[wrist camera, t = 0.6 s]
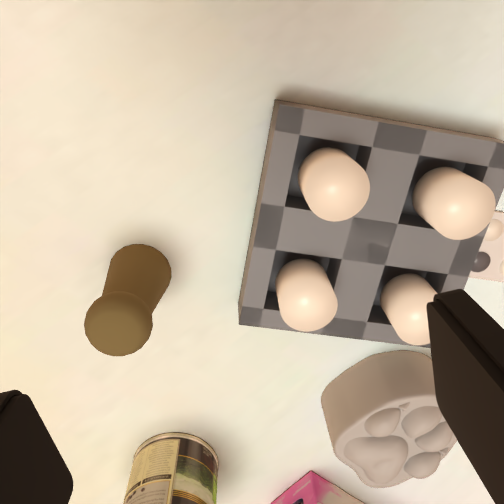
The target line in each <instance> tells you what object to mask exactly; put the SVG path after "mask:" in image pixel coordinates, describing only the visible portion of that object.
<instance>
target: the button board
mask: <svg viewBox="0 0 504 504" xmlns="http://www.w3.org/2000/svg"><path fill="white" fill-rule="evenodd" d="M325 147H333V148H337V149H340V150H342V151H343V152H345V153H346V154H347V155H348V156H350V157H351V158H352V159H353V160H354V161H355V162H356V163H358V164H359V165H360V166H361V167H362V168H363V169H364V171H365V172H366V174H367V176H368V178H369V182H370V193H369V197H368V200H367V202H366V204H365V205H364V207H363V208H362V209H361V210H360V211H359V212H358V213H357V214H356V215H354V216H353V217H351V218H349V219H347V220H343V221H336V222H333V221H327V220H324V219H322V218H320V217H318V216H317V215H315V214H314V213H313V212H312V210H311V209H310V207H309V206H308V204H307V202H306V200H305V198H304V196H303V194H302V192H301V190H300V187H299V184H298V171H299V168H300V165H301V164H302V162H303V160H304V159H305V158H306V157H307V156H308V155H309V154H310V153H312V152H313V151H315V150H317V149H320V148H325ZM438 167H452V168H455V169H457V170H459V171H461V172H463V173H465V174H467V175H469V176H471V177H472V178H474V179H476V180H478V181H480V182H482V183H484V184H486V185H487V186H488V187H489V188H490V189H491V190H492V192H493V194H494V197H495V203H496V205H495V209H496V206H497V204H498V201H499V199H500V196H501V193H502V191H503V188H504V141H502V140H499V139H496V138H491V137H486V136H480V135H474V134H469V133H463V132H457V131H451V130H446V129H440V128H434V127H429V126H423V125H417V124H412V123H406V122H400V121H395V120H389V119H383V118H377V117H372V116H366V115H360V114H355V113H349V112H343V111H338V110H332V109H326V108H320V107H315V106H309V105H303V104H298V103H292V102H286V101H281V100H275V102H274V108H273V113H272V119H271V124H270V130H269V135H268V141H267V146H266V152H265V157H264V163H263V169H262V174H261V180H260V185H259V191H258V196H257V202H256V207H255V213H254V218H253V224H252V230H251V235H250V241H249V246H248V252H247V257H246V263H245V268H244V274H243V279H242V285H241V291H240V296H239V302H238V313H239V325H247V326H255V327H263V328H271V329H280V330H288V331H296V332H304V331H298V330H295V329H293V328H291V327H290V326H288V325H287V324H286V323H285V322H284V320H283V319H282V317H281V314H280V309H279V303H278V298H277V293H276V287H275V280H276V276H277V274H278V272H279V270H280V269H281V268H282V267H283V266H284V265H285V264H287V263H288V262H290V261H293V260H296V259H310V260H313V261H315V262H317V263H319V264H320V265H321V266H322V267H323V268H324V270H325V272H326V274H327V277H328V279H329V281H330V284H331V286H332V288H333V291H334V293H335V295H336V298H337V302H338V307H337V312H336V314H335V316H334V318H333V319H332V320H331V321H330V323H328V324H327V325H326V326H324V327H323V328H321V329H318V330H315V331H309V332H304V333H312V334H321V335H329V336H337V337H345V338H353V339H361V340H370V341H378V342H386V343H394V344H402V345H410V346H419V347H427V348H431V347H430V343H429V344H426V345H411V344H408V343H406V342H404V341H403V340H402V339H400V337H399V336H398V334H397V333H396V331H395V329H394V328H393V326H392V324H391V323H390V321H389V319H388V318H387V316H386V314H385V312H384V311H383V309H382V307H381V305H380V294H381V291H382V289H383V287H384V286H385V285H386V284H387V282H389V281H390V280H391V279H392V278H394V277H396V276H398V275H402V274H408V273H411V274H417V275H419V276H421V277H423V278H424V279H425V280H426V281H427V282H428V283H429V284H430V285H431V287H432V288H433V289H434V290H435V291H436V292H437V294H438V293H443V292H447V291H451V290H456V289H464V287H465V284H466V282H467V279H468V277H469V274H470V272H471V269H472V267H473V264H474V262H475V259H476V257H477V254H478V252H479V249H480V247H481V244H482V241H483V239H484V236H485V234H486V231H487V229H488V226H489V224H490V223H489V224H488V225H487V226H486V227H485V228H484V229H483V230H482V231H481V232H480V233H478V234H477V235H475V236H473V237H471V238H468V239H463V240H453V239H449V238H446V237H444V236H443V235H442V234H440V233H439V232H438V231H437V230H436V229H434V228H433V227H432V226H431V225H430V224H429V223H428V222H426V221H425V220H424V219H423V218H422V217H421V216H419V215H418V214H417V212H416V211H415V209H414V207H413V203H412V194H413V190H414V187H415V185H416V183H417V182H418V180H419V179H420V178H421V177H422V176H423V175H424V174H425V173H427V172H428V171H430V170H432V169H435V168H438Z"/></svg>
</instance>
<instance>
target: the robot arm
mask: <svg viewBox="0 0 504 504" xmlns="http://www.w3.org/2000/svg"><path fill="white" fill-rule="evenodd" d="M426 308H427V319H428V328H429V337H430V347H431V356H432V366H433V375H434V385H435V394H436V400H437V404H438V407H439V409H440V412H441V413H442V415H443V417H444V419H445V420H446V422H447V424H448V425H449V427H450V429H451V430H452V432H453V434H454V435H455V437H456V439H457V440H458V442H459V444H460V445H461V447H462V449H463V450H464V452H465V454H466V455H467V457H468V459H469V460H470V462H471V464H472V465H473V467H474V469H475V470H476V472H477V474H478V475H479V477H480V479H481V480H482V482H483V484H484V486H485V487H486V489H487V491H488V492H489V494H490V496H491V497H492V499H493V501H494V502H495V504H504V329H503V328H502V327H501V326H500V325H499V324H498V323H497V322H496V321H495V320H494V319H493V318H492V317H491V316H490V315H489V314H488V313H487V312H486V311H485V310H483V309H482V308H481V307H480V306H479V305H478V304H477V303H476V302H475V301H474V300H473V299H472V298H471V297H470V296H469V295H468V294H467V293H466V292H465V291H464V290H463V289H456V290H451V291H447V292H443V293H438V294H435V295H434V298H433V302H428V303H427V306H426ZM72 491H73V479H72V475H71V473H70V471H69V470H68V468H67V466H66V464H65V462H64V460H63V458H62V457H61V455H60V453H59V451H58V449H57V447H56V445H55V443H54V442H53V440H52V438H51V436H50V434H49V432H48V430H47V429H46V427H45V425H44V423H43V421H42V419H41V417H40V416H39V414H38V412H37V410H36V408H35V406H34V404H33V402H32V401H31V399H30V397H29V396H28V395H26V394H22V393H21V392H20V391H18V390H12V391H7V392H3V393H0V504H68V502H69V499H70V497H71V494H72Z"/></svg>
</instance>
